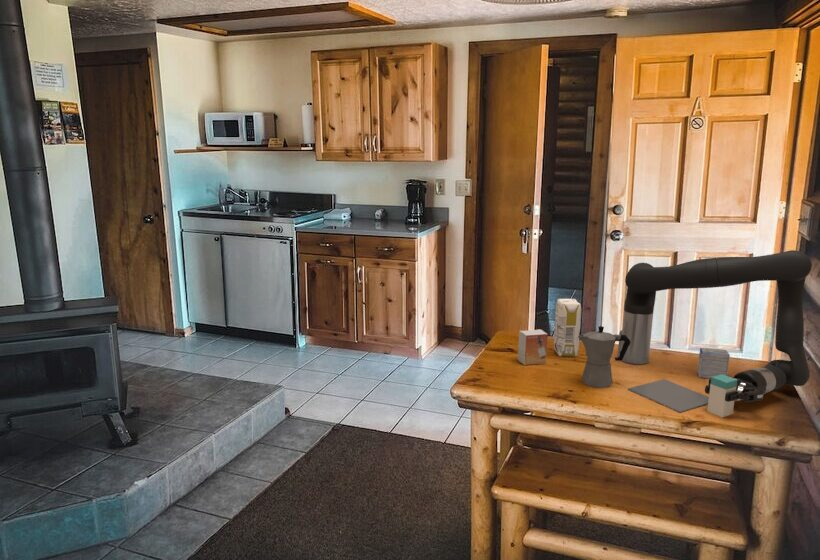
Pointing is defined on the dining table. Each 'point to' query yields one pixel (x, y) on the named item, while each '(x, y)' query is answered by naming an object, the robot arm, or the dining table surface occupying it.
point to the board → (671, 395)
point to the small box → (532, 347)
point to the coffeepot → (600, 356)
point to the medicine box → (712, 362)
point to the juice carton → (567, 327)
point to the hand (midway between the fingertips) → (716, 393)
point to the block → (721, 395)
